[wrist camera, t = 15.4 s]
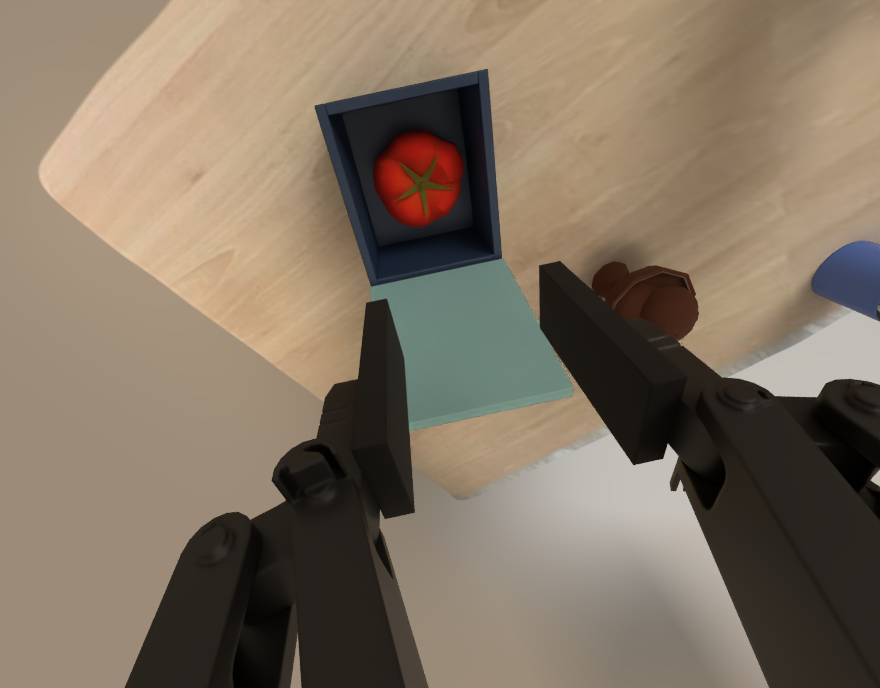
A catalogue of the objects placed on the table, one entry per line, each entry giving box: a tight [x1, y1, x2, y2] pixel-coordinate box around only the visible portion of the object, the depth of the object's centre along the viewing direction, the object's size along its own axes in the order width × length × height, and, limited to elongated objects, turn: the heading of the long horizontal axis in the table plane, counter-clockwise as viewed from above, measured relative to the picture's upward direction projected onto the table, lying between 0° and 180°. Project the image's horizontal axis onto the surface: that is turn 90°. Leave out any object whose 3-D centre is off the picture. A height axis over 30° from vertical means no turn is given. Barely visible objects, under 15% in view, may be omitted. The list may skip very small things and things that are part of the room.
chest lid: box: [370, 258, 574, 431], centre depth 29 cm, size 17×14×1 cm
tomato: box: [373, 130, 464, 227], centre depth 36 cm, size 9×9×8 cm
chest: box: [315, 69, 502, 287], centre depth 36 cm, size 16×14×11 cm
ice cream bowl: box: [592, 261, 699, 341], centre depth 45 cm, size 11×11×15 cm
